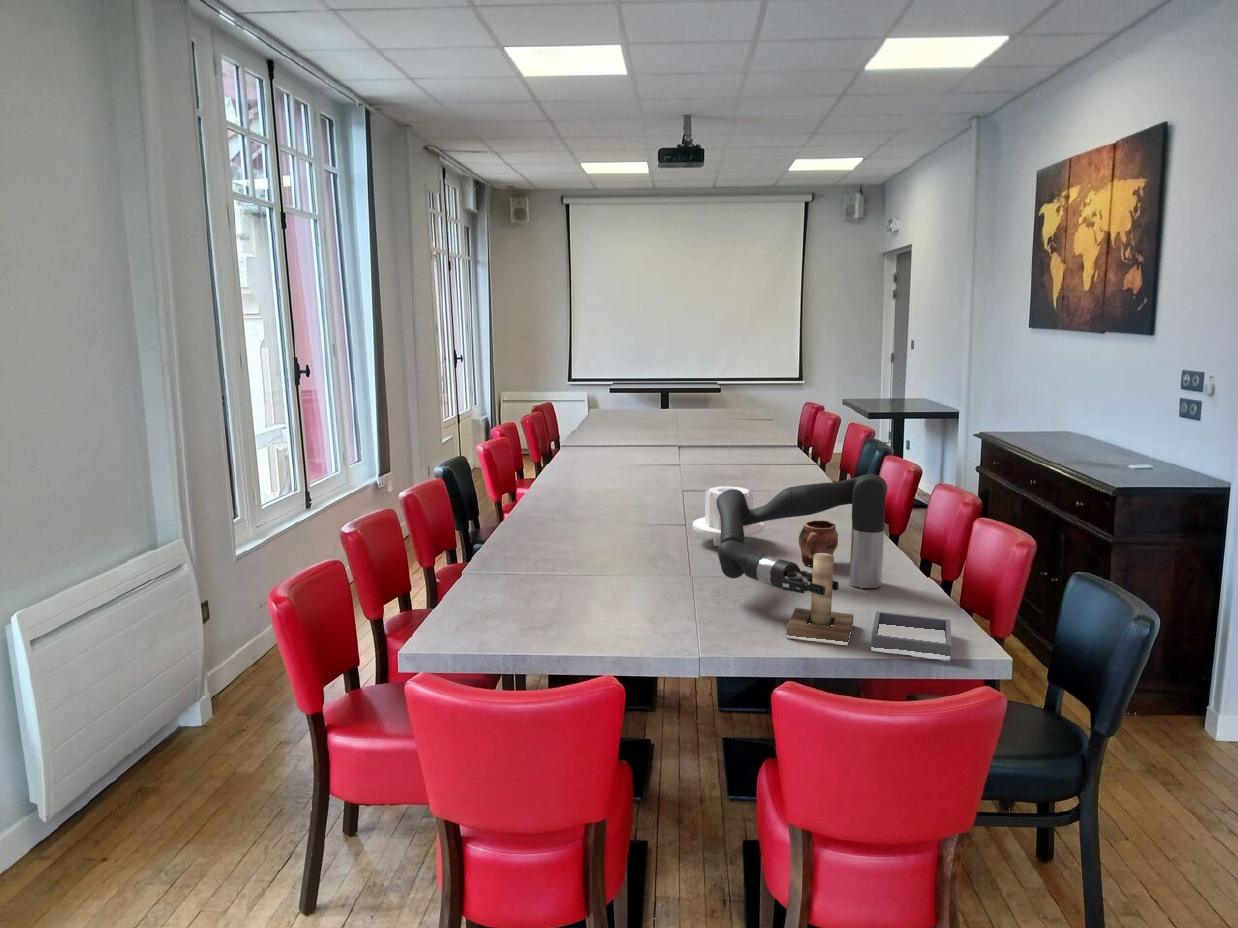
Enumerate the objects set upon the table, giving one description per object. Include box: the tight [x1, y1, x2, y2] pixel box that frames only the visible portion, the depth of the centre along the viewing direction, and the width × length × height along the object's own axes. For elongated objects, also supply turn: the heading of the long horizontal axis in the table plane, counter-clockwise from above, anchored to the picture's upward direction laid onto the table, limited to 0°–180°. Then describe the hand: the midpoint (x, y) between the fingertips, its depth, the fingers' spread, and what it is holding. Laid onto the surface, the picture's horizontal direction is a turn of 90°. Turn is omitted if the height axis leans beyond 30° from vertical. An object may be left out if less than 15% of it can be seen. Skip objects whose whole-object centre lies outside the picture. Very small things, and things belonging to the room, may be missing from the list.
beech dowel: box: [810, 553, 835, 626], centre depth 218 cm, size 5×5×20 cm
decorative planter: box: [798, 519, 839, 567], centre depth 275 cm, size 20×12×14 cm, turn 154°
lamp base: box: [692, 485, 765, 547], centre depth 301 cm, size 25×25×19 cm
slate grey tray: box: [870, 610, 952, 657], centre depth 212 cm, size 18×18×4 cm
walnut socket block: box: [786, 607, 855, 642], centre depth 219 cm, size 15×15×3 cm
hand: (830, 588), depth 216 cm, fingers closed on beech dowel, 5 cm apart
